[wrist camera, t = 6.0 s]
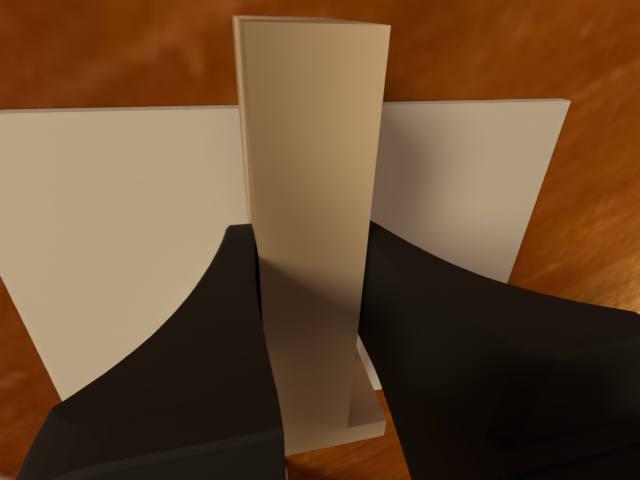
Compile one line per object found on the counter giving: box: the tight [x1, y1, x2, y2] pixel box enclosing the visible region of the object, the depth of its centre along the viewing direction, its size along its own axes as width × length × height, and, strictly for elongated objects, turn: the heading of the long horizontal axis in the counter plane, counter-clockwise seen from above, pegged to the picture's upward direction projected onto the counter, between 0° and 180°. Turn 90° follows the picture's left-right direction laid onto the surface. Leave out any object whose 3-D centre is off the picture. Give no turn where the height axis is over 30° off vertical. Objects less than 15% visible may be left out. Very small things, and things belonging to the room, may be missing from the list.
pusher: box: [232, 15, 391, 456], centre depth 11 cm, size 5×12×5 cm, turn 179°
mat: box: [0, 98, 571, 401], centre depth 18 cm, size 22×16×1 cm
